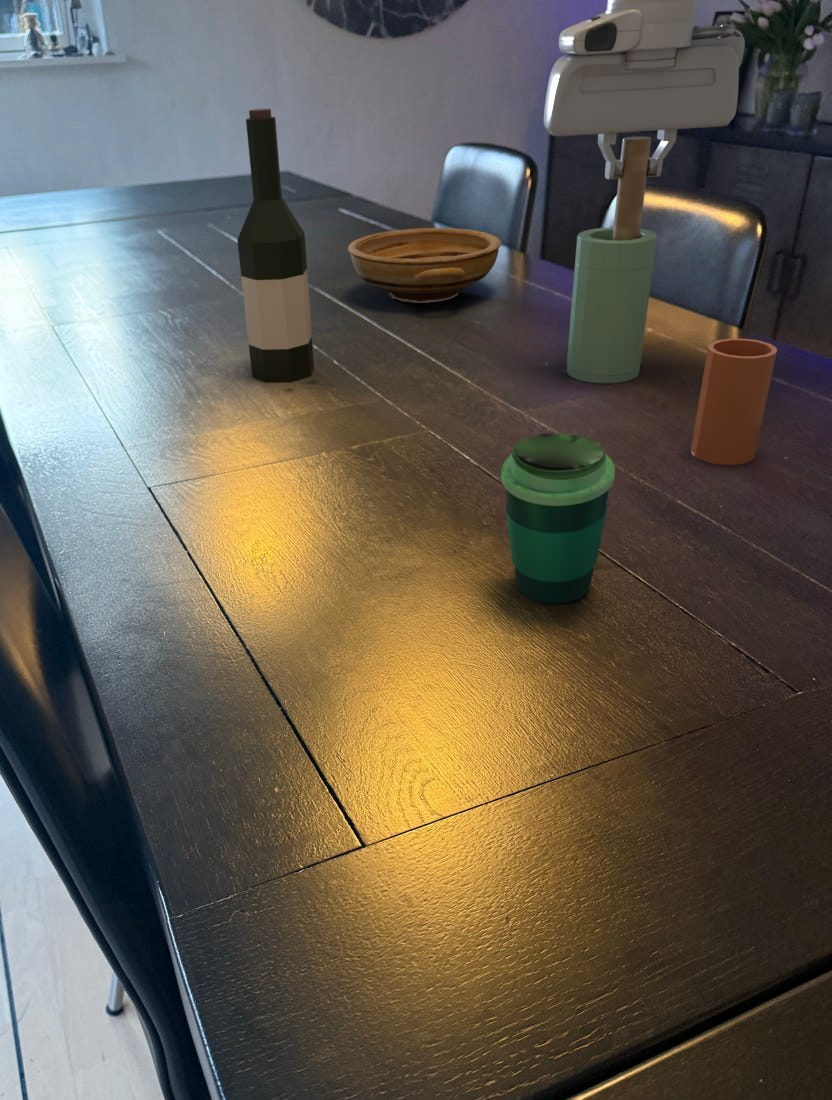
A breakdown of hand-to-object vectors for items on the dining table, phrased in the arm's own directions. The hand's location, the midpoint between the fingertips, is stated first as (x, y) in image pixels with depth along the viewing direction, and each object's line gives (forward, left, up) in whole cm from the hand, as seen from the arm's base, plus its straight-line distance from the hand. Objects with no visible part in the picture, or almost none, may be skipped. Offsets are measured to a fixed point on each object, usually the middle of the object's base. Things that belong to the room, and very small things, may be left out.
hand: (632, 177), depth 103 cm
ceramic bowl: (+18, -43, -22) cm, 52 cm away
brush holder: (-3, +28, -22) cm, 36 cm away
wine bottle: (+41, -8, -22) cm, 47 cm away
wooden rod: (0, 0, -18) cm, 18 cm away
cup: (+20, +51, -22) cm, 59 cm away
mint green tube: (+1, 0, -22) cm, 22 cm away
